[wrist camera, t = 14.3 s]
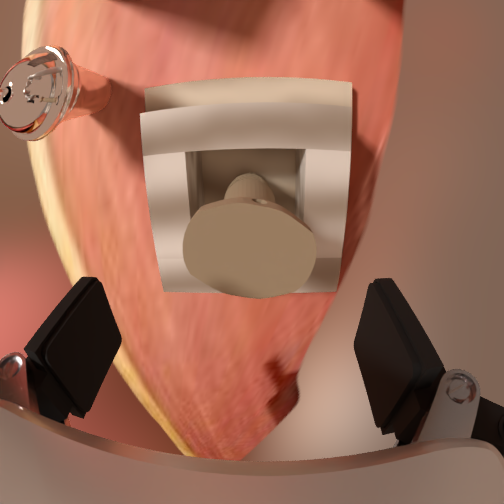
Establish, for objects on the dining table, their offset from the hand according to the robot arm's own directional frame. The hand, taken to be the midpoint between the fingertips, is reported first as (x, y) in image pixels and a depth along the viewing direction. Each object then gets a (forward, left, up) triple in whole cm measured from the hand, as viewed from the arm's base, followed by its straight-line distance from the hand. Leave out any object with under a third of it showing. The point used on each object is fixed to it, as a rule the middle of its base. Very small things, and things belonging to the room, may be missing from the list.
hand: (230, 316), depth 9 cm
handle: (0, 0, -20) cm, 20 cm away
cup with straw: (-12, -17, -21) cm, 30 cm away
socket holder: (0, 0, -21) cm, 21 cm away
